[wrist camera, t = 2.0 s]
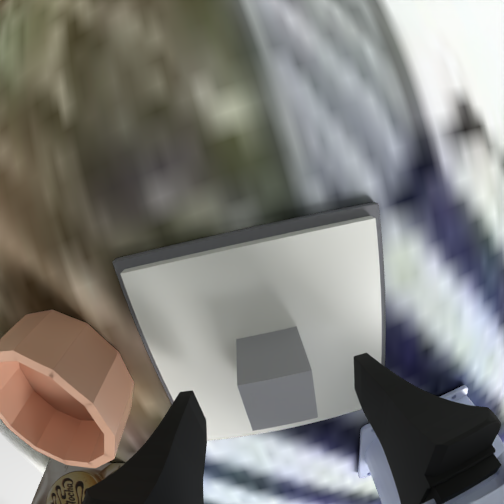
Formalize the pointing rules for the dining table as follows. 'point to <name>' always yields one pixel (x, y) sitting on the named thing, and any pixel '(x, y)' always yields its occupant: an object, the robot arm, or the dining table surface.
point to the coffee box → (69, 482)
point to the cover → (265, 325)
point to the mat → (247, 236)
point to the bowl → (64, 389)
